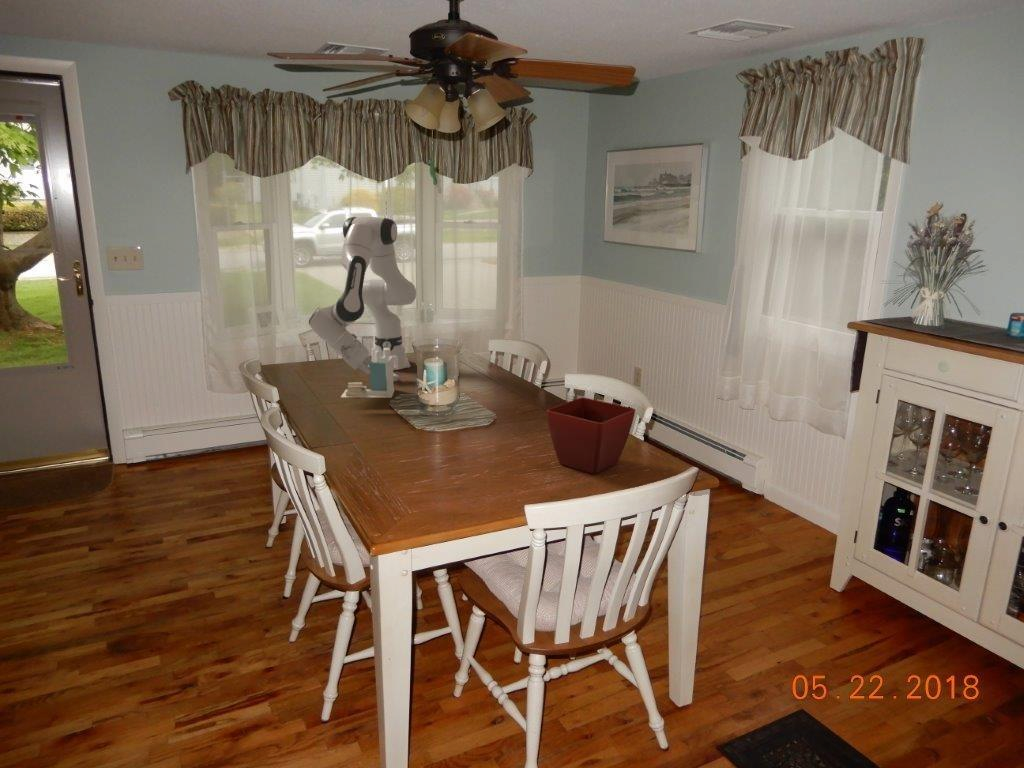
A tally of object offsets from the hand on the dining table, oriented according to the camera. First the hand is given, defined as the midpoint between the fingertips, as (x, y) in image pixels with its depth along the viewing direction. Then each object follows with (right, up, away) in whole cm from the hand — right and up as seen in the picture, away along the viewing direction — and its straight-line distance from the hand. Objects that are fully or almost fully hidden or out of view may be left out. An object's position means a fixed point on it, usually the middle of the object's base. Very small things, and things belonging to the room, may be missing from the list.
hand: (371, 369), depth 271 cm
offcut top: (-7, -7, +1) cm, 10 cm away
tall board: (+2, -9, +3) cm, 10 cm away
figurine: (+2, -6, +21) cm, 22 cm away
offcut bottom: (-6, -9, +2) cm, 11 cm away
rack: (-2, -10, +3) cm, 11 cm away
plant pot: (+76, -29, -60) cm, 101 cm away
